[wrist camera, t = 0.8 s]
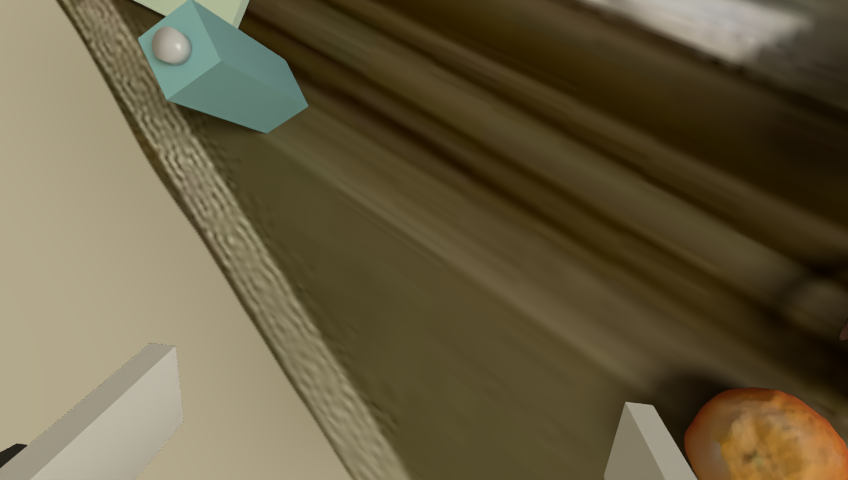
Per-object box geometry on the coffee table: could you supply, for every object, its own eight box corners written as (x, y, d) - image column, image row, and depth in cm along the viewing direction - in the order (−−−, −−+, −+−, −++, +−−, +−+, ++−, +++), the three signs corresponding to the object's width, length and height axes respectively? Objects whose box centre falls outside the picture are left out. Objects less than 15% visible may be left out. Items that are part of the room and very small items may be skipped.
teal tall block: (285, 60, 39) (177, -11, 27) (308, 106, 38) (209, 55, 27) (244, 88, 40) (123, 32, 28) (266, 133, 39) (153, 95, 28)
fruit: (795, 543, 30) (791, 580, 24) (680, 448, 35) (653, 459, 29) (878, 447, 28) (896, 461, 23) (746, 364, 34) (732, 358, 28)
